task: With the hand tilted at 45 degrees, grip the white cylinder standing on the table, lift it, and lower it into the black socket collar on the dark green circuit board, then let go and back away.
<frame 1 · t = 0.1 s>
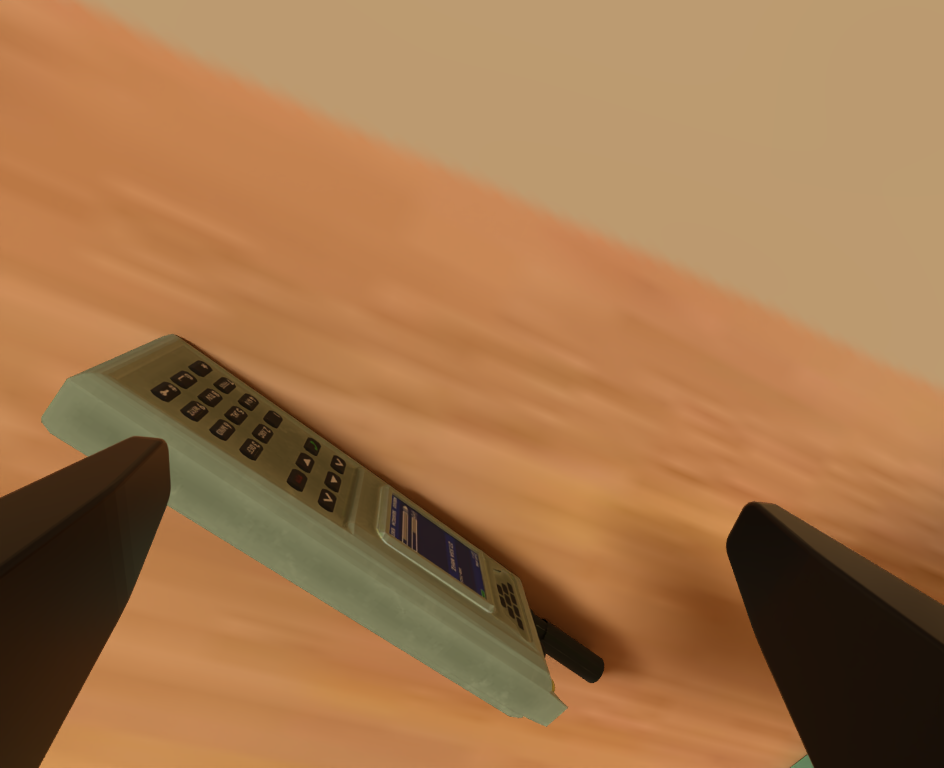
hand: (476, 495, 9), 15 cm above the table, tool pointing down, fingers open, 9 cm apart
handheld radio: (396, 519, 26), on the table
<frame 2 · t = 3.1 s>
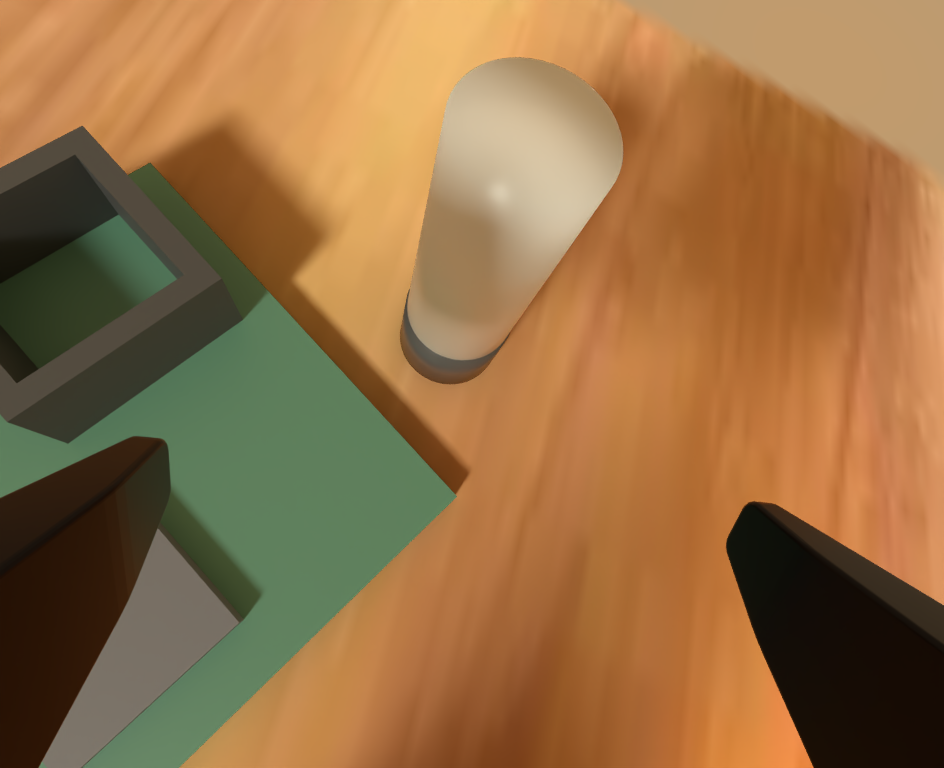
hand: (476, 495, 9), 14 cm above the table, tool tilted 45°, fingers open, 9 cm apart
white cylinder: (448, 337, 24), on the table
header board: (121, 468, 20), on the table
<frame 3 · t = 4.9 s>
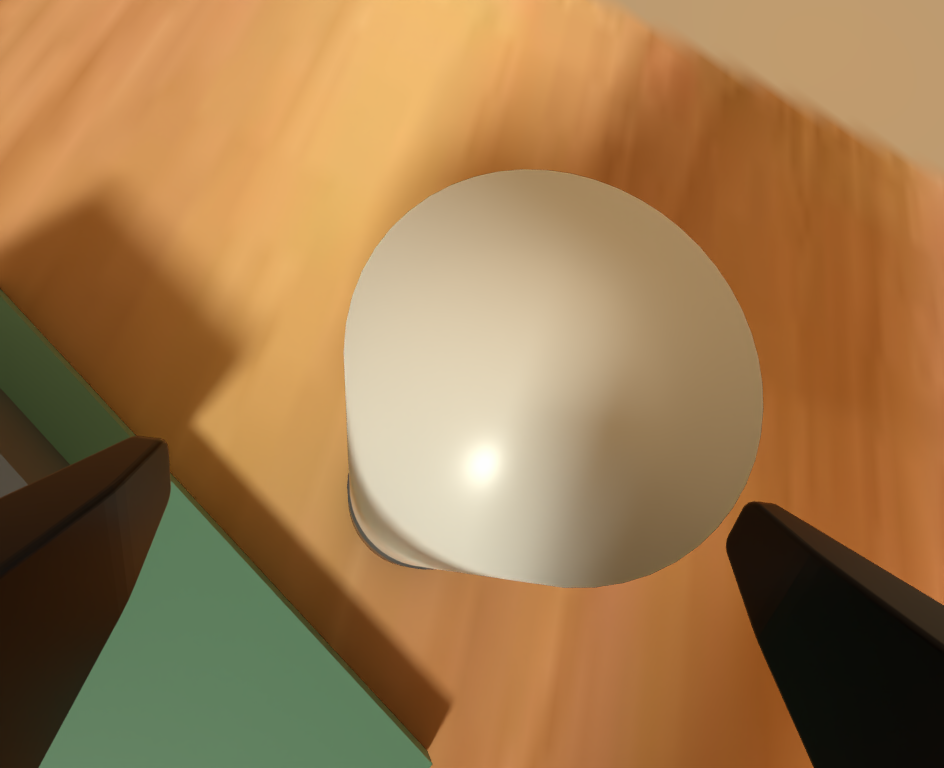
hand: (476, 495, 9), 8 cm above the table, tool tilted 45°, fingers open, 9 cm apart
white cylinder: (418, 495, 17), on the table
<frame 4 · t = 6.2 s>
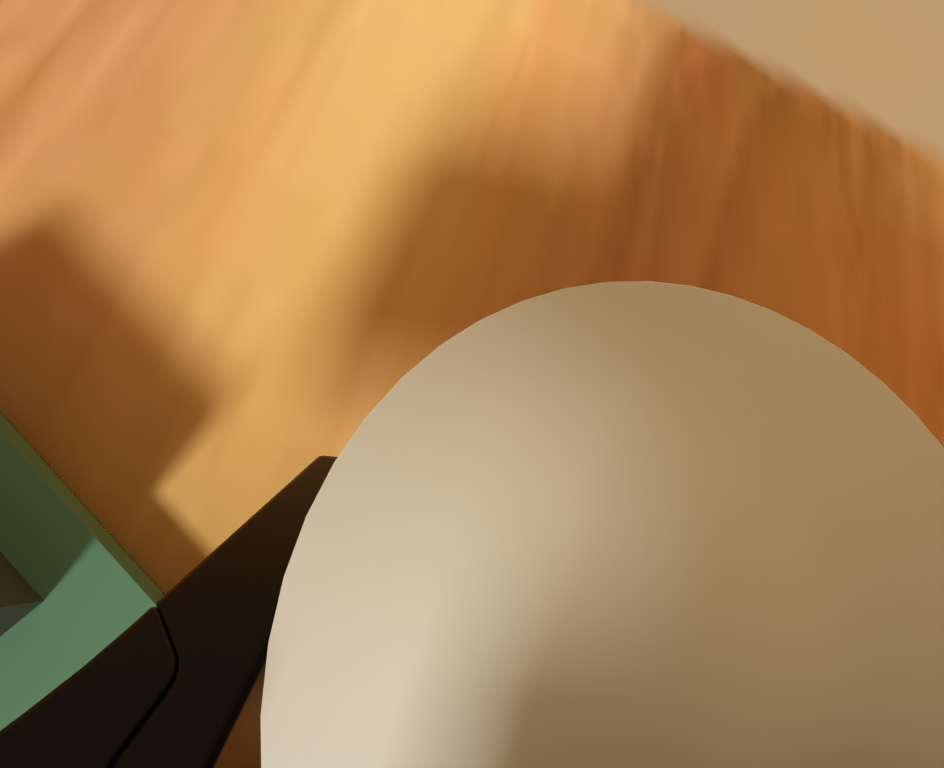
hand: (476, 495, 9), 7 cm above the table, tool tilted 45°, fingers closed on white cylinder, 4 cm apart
white cylinder: (420, 574, 14), on the table, touching gripper
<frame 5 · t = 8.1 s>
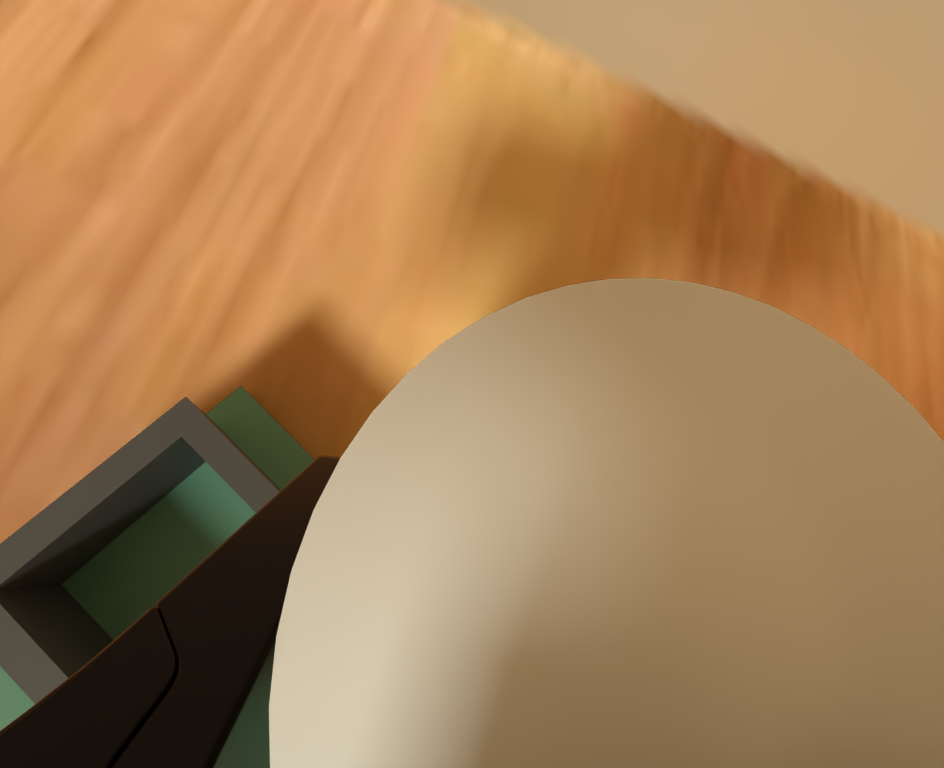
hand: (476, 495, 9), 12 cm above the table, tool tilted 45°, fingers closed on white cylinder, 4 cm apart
white cylinder: (421, 573, 14), point 6 cm above the table, touching gripper
when the fingers open (9 cm above the table, at t = 9.9 s): white cylinder stays where it is, resting on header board.
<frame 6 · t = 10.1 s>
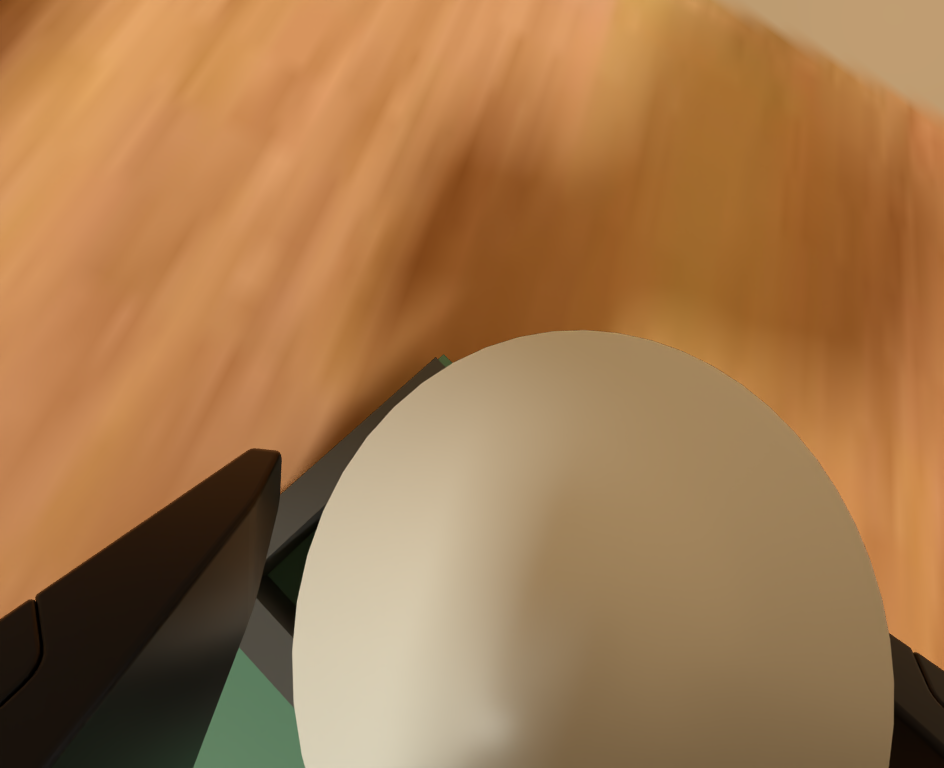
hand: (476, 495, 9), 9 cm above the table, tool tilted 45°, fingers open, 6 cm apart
white cylinder: (417, 573, 15), point 1 cm above the table, touching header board
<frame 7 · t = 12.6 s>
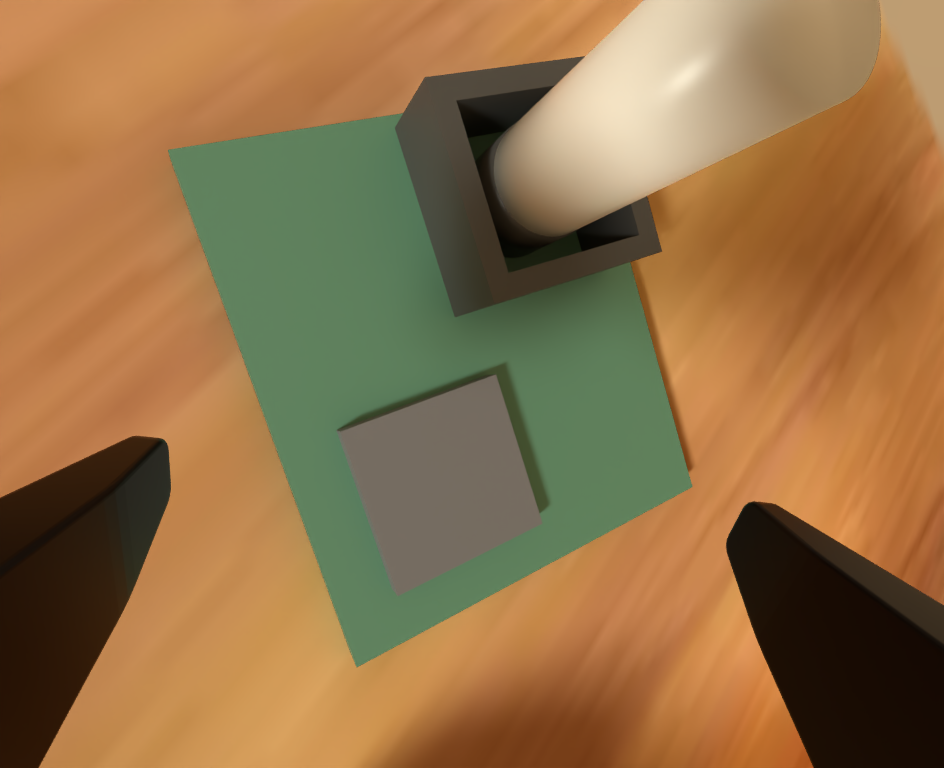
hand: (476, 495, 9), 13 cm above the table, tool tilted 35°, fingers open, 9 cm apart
white cylinder: (507, 205, 22), point 1 cm above the table, touching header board
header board: (469, 351, 22), on the table
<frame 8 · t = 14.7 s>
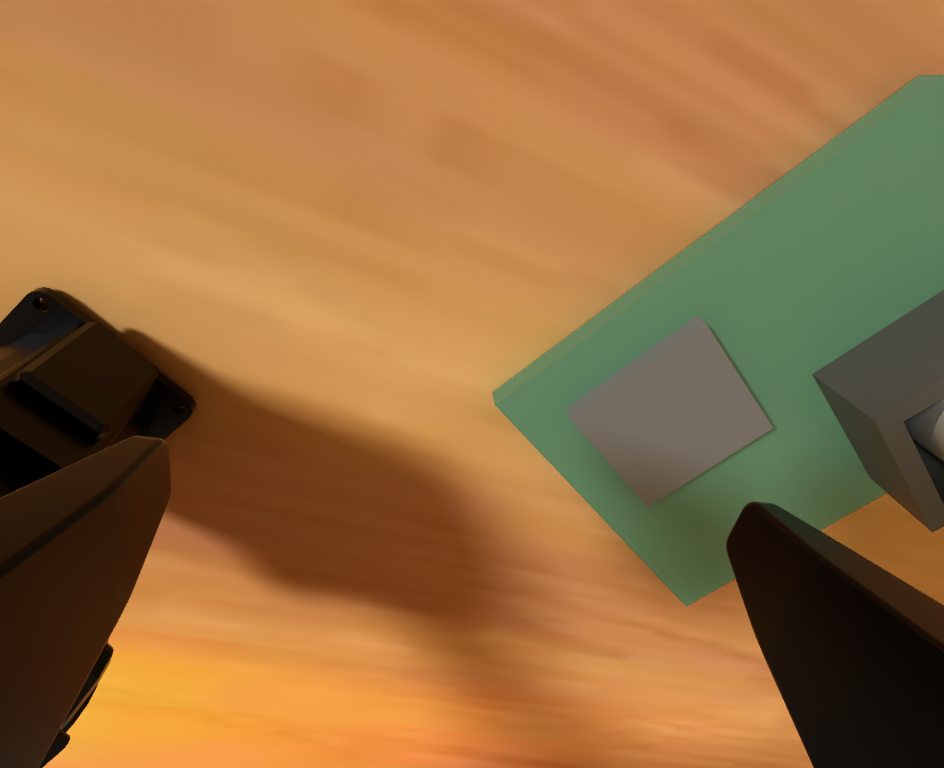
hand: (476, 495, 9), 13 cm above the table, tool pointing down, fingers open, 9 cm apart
white cylinder: (922, 380, 23), point 1 cm above the table, touching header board
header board: (771, 392, 24), on the table
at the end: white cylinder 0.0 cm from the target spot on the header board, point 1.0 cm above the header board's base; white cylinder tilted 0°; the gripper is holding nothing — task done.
